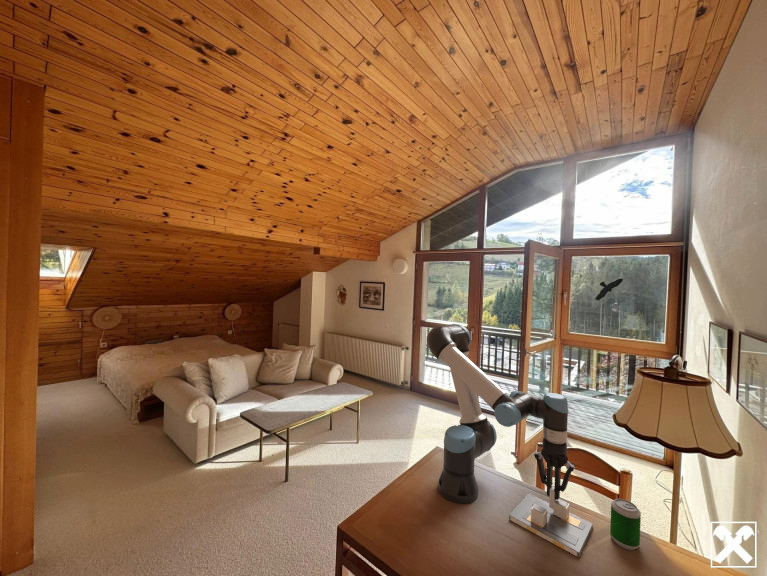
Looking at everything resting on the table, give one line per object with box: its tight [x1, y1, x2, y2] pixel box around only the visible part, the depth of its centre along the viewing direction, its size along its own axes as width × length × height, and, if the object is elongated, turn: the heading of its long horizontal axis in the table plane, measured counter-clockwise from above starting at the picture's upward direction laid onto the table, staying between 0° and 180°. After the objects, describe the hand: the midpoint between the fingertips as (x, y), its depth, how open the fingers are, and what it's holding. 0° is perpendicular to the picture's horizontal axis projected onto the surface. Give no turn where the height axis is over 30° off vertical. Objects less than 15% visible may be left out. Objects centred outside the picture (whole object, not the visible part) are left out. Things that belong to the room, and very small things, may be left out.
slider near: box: [531, 504, 548, 527], centre depth 107 cm, size 4×4×4 cm
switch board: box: [508, 492, 594, 558], centre depth 108 cm, size 21×17×2 cm
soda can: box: [609, 498, 642, 551], centre depth 101 cm, size 8×8×12 cm
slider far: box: [553, 498, 571, 520], centre depth 110 cm, size 4×4×4 cm
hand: (552, 506), depth 112 cm, fingers closed
